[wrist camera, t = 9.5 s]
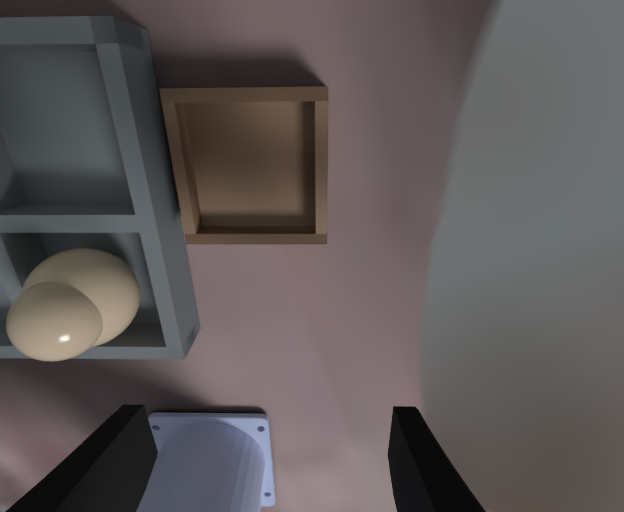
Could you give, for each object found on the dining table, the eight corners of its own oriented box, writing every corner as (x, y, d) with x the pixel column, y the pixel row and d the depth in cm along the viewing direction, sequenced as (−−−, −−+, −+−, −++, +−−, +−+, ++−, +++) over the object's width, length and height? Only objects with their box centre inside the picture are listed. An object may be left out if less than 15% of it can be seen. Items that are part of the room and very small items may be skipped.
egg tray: (200, 328, 20) (184, 359, 18) (-47, 327, 20) (-95, 357, 18) (147, 29, 14) (112, 15, 12) (-206, 34, 14) (-311, 22, 12)
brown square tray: (326, 228, 17) (326, 244, 16) (200, 229, 18) (186, 244, 16) (327, 87, 15) (328, 86, 13) (178, 89, 15) (158, 88, 13)
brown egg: (163, 311, 19) (105, 391, 14) (81, 311, 19) (-8, 390, 14) (146, 233, 17) (70, 292, 12) (54, 233, 17) (-60, 292, 12)
